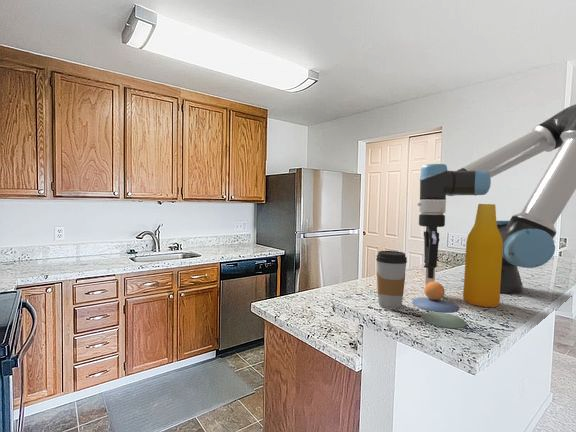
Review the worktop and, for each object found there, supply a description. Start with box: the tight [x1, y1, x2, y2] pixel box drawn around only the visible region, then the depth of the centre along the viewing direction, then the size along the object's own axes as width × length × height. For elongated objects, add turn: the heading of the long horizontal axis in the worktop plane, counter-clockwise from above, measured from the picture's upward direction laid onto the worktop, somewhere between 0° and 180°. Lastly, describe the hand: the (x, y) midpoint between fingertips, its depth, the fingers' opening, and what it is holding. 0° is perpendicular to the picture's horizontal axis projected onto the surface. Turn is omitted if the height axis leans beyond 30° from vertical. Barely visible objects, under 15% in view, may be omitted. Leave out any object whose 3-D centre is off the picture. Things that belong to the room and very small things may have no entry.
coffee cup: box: [375, 250, 408, 310], centre depth 90 cm, size 8×8×15 cm
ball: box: [424, 281, 446, 300], centre depth 96 cm, size 6×6×6 cm
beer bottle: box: [462, 203, 503, 308], centre depth 93 cm, size 9×9×29 cm
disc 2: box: [421, 311, 467, 329], centre depth 80 cm, size 10×10×1 cm
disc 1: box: [412, 297, 459, 313], centre depth 91 cm, size 12×12×1 cm
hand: (429, 287), depth 102 cm, fingers closed
